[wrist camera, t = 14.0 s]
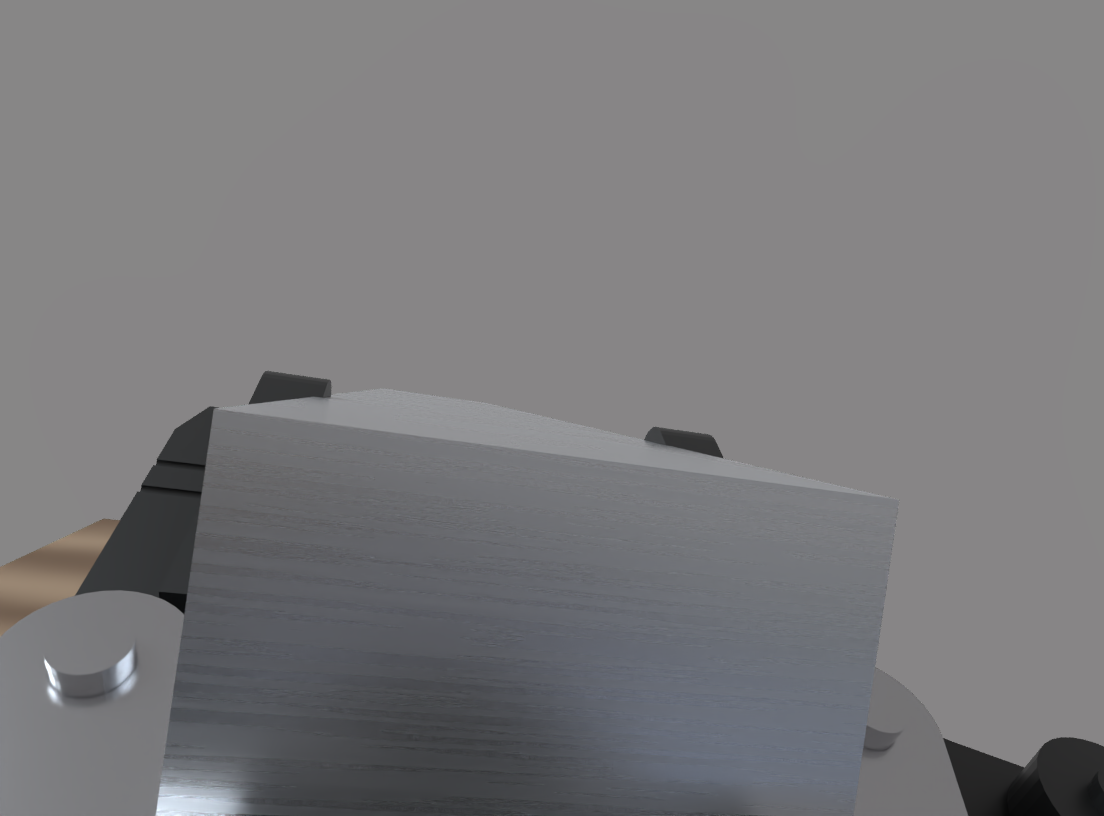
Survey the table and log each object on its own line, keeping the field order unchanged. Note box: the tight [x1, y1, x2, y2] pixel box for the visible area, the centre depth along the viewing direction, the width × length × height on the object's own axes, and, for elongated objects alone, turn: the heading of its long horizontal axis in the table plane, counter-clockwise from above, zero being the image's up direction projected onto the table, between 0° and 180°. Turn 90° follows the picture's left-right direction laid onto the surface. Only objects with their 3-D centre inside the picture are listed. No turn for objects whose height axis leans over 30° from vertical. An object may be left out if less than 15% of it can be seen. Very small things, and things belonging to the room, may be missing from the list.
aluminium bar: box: [156, 388, 899, 816], centre depth 17 cm, size 26×4×4 cm, turn 10°
